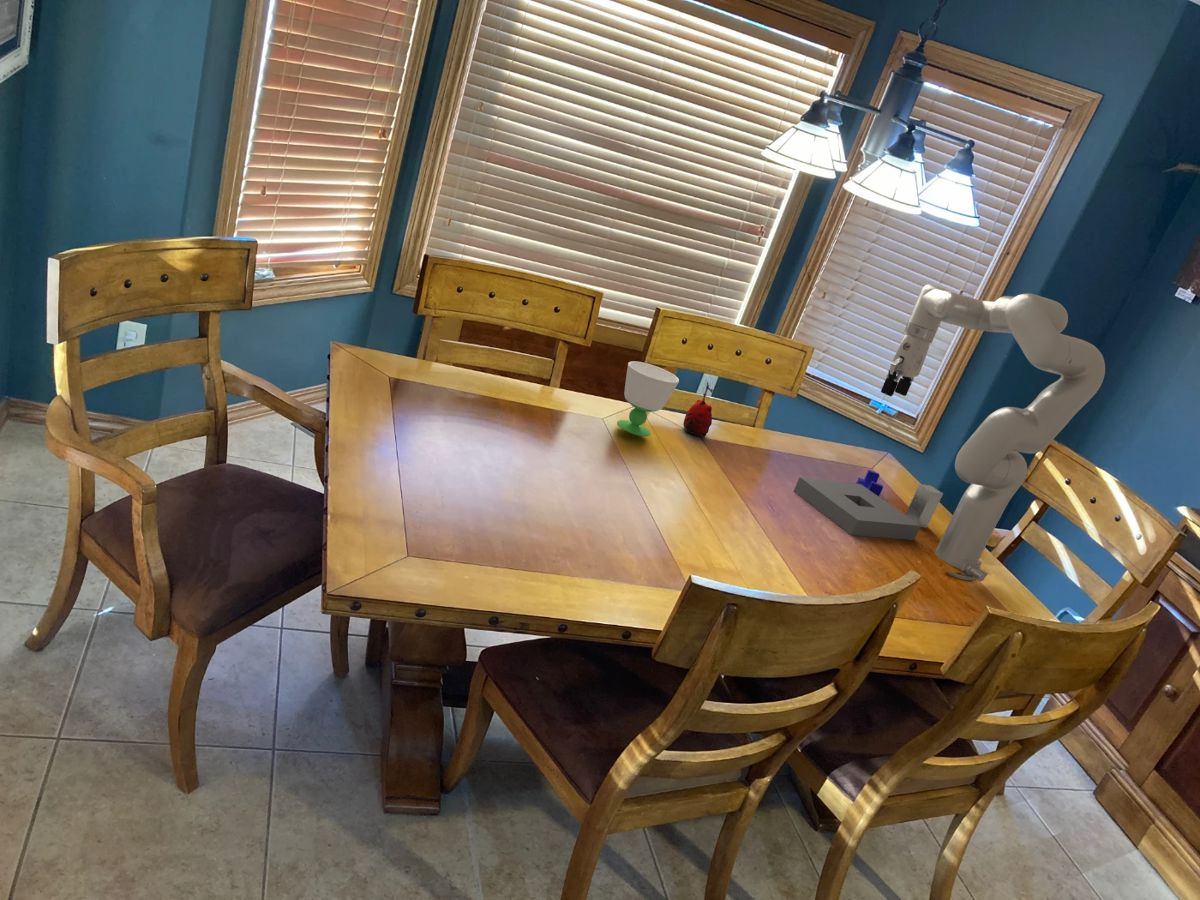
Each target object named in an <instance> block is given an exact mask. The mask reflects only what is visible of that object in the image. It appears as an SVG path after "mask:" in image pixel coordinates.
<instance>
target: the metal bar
mask: <svg viewBox="0 0 1200 900" xmlns="http://www.w3.org/2000/svg"><path fill="white" fill-rule="evenodd" d="M943 495H944V492H941V491H940V490H938V489H937V488H935V487H934V486H932V485H929V484H920V483H919V484H918V487H917V489H916V490H915V493H914V495H913V498H912V499H911V502H910V504H909V505H908V508H907V511H906V512H905V514H904V515H906V516H907V517H909V518H910V519H912V520H913V521H915V522H916V523H917V524H919V525H920V526H921V527H920V528H922V529H923V528H928V526H929V524H930V523H931V519H932V518H933V516H934V514H935V512H936V510H937V507H938V505H939V503H940V501H941V499H942V498H943Z"/></svg>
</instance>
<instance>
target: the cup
mask: <svg viewBox="0 0 1200 900" xmlns="http://www.w3.org/2000/svg"><path fill="white" fill-rule="evenodd" d="M625 376H626V377H625V385H624V393H623V394H624V398H625V400H626V401H627V403H628V404H629V405H631V406H632V407H633V408H632V409H631V410H630V412H629V415H628V418H629V420H617V423H616V424H617V425H618V427H619V428H620V429H622V430H624V431H626V432H627V433H629V434H633V435H636V436H641V437H648V436H650V435H651V431H650V430H649V429H648V428H647V427H645V426H644V425H643V424H645V422H646V421H647V419H648V418H647V416H648V415H647V413H648V412H649V413H651V412H655V413H656V412H658V411H660V410H662V409H663V408H665V406H666V404H667V403H668V401H669V399H670V397H671V396H672V395H673V393H674V391H675V390H676V387H677V386H678V384H679V383H680V379H679V377H677V376H676V375H675V374H674V373H672V372H670V371H669V370H667V369H664V368H661V367H659V366H656V365H653V364H650V363H647V362H642V361H634V360H632V361H629V362H627V370H626V375H625Z"/></svg>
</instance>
